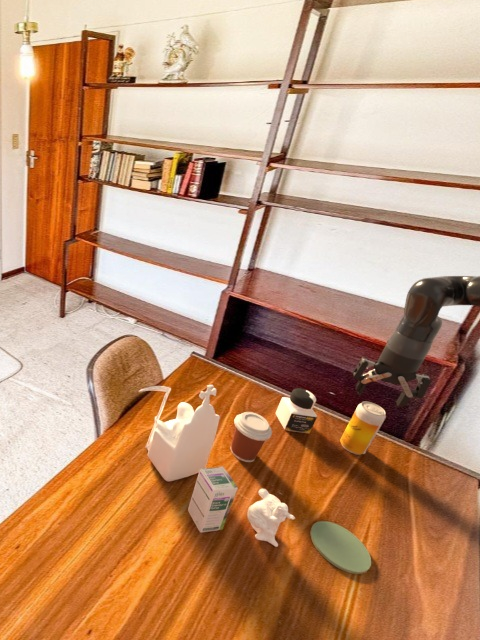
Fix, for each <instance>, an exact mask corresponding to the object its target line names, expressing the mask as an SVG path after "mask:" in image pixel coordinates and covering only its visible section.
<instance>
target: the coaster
mask: <svg viewBox="0 0 480 640" xmlns="http://www.w3.org/2000/svg"><path fill="white" fill-rule="evenodd" d="M309 536H310V537H309V538H310V541H311V543H312V544H313V546H314V547H315V549H316V550H317V552H318V553H319V554H320V555H321V556H322V557H323V558H324V559H325V560H326V561H327V562H329V563H330V565H333V566H334V567H336V568H337V569H340V570H342V571H343V572H346V573H349V574H353V575H363V574H366V573H367V572H368V571H369V570H370V569H371V566H372V557H371V555H370V552H369V550H368V549H367V547H366V546H365V544H364V543H363V542H362V541H361V540H360V539H359V538H358V537H357V536H356V535H355V534H354V533H353V532H351V531H350V530H348V529H347V528H345V527H343V526H342V525H340V524H337V523H334V522H331V521H328V520H327V521H326V520H320V521H319V520H318V521H317V522H315V523H313V524H312V525H311V528H310V530H309Z"/></svg>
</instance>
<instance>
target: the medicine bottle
mask: <svg viewBox="0 0 480 640" xmlns="http://www.w3.org/2000/svg"><path fill="white" fill-rule="evenodd" d="M316 402H317V398H316V396H315V394H313V393H312V392H311V391H309V390H307V389H303V388H300V387H297V388H294V389H292V391H291V393H290V395H289V397H287V396H282V397H281V399H280V401H279V404H278V406H277V409H276V411H275V416H276V417H277V419H278V421H279V423H280V424H281V426H282V429H283V430H284V431H289V432H297V433H303V434H310V433H311V431H312V429H313V427H314V426H315V423H316V420H317V419H318V415H317V413H316V412H315V410H314V407H315V405H316Z"/></svg>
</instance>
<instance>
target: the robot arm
mask: <svg viewBox="0 0 480 640" xmlns="http://www.w3.org/2000/svg"><path fill="white" fill-rule="evenodd" d="M450 306H451V307H452V306H454V307H455V306H476V307H478V308H480V275H479V276H475V275H443V276H433V277H423V278H421V279H419V280H416V281H415V282H414V283H413V284H412V285H411V287H409V289H408V291H407V294H406V297H405V303H404V309H403V315H402V316H401V318H400V321H399V322H398V324H397V326H396V328H395V330H394V331H393V332H392V333H391V335H390V337H389V338H388V339H387V340H386V344H385V346H384V348H383V350H382V351H381V353H380V356H379V358H378V359H377V360H376V361H372V360H369V359H368V358H367V357H365V356H362V357H361V358H360V360H359V361H358V363H357V364H356V366H355V368H354V369H353V371H352V375H353V379H355V380H357V382H356V385H355V391H356V393H357V395H360V396H361V395H363V393H364V391H365V389H366V387H367V384H369V383H371V382H377V381H381V382H384V383H390V384H392V385H394V386H399V385H401V388H402V390H403V391H401V393H400V395H399V397H398V398H397V400H396V402H395V403H396V406H397V407H399V408H403V407H407V405H408V404H409V401H410V400H411V399H412V398H417V399H421V400H422V399H424V397H425V394H426V392H427V391H428V388H429V386H430V385H431V382H432V381H431V379H430V376H429V375H428V374H426V373H423V374H418V373H417V372H418V371H419V370H420V368H421V365H423V363H424V361H425V359H426V357H427V356H428V353H429V352H430V350H431V348H432V345H433V343H434V341H435V339H436V338H437V336H438V334H439V332H440V330H441V329H442V326H443V320H442V318H441V317H440V316H439V314H440V312H441V310H442V308H443V307H450ZM371 367H372V368H373V369H372V370H369V371H368V372H366V373H364V372H365V370H366V369H370V368H371ZM414 380H416V382H417V385H416V387H415V389H411V388H410V386H409V384H408V383H409V382H411V381H414Z"/></svg>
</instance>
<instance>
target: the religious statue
mask: <svg viewBox="0 0 480 640" xmlns="http://www.w3.org/2000/svg"><path fill="white" fill-rule="evenodd" d="M149 391H150V392H152V391H153V392H156V391H157V392H164V396H163V400H162V402H161V405H160V407H159V411H158V413H157V415H156V416H154V424H153V425H152V428H151V432H150V433H149V437H148V438H147V439H148V440H147V442H146V444H145V447H144V448H145V450H147V458H148V460H150V462H151V463H152V465H153V466H154V468H155V469H156V470H157V472H158V473H159V474H160V476H161V477H162V479H163V480H165V481H166V482H174V481H178V480H181V479H185V478H189V477H190V476H193V475H197V474H199V471H200V469H205V468H207V465H208V461H209V459H210V454H211V451H212V449H213V446H214V443H215V439H216V435H217V431H218V428H219V423H220V419H221V415H219V414H216V410H215V407H214V406H213V404H210V399H211V398H210V397H211V396H214V397H216V396H217V393H218V392H217V391H218V390H217V388H216V387H214V385H213V384H208V385H206V391H203V390H201V391H200V392H199V394H198V397H199V399H201V400H203V401H202V403H201V405H199V406H198V407H197V408H196V409H195V410H194V407H193V406H192V405H191V403H188V402H184V401H182V402H180V403H179V404H178V405H177V409H176V410H177V411H176V417H175V418H174V419H170V420H167V421H162V420H160V417H161V415H162V413H163V410H164V408H165V406H166V403H167V400H168V397H169V395H170V393H171V391H172V388H171V387H170V386H165V385H152V386H148V387H144V388H141V389H140V390H138V393H141V392H149Z"/></svg>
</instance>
